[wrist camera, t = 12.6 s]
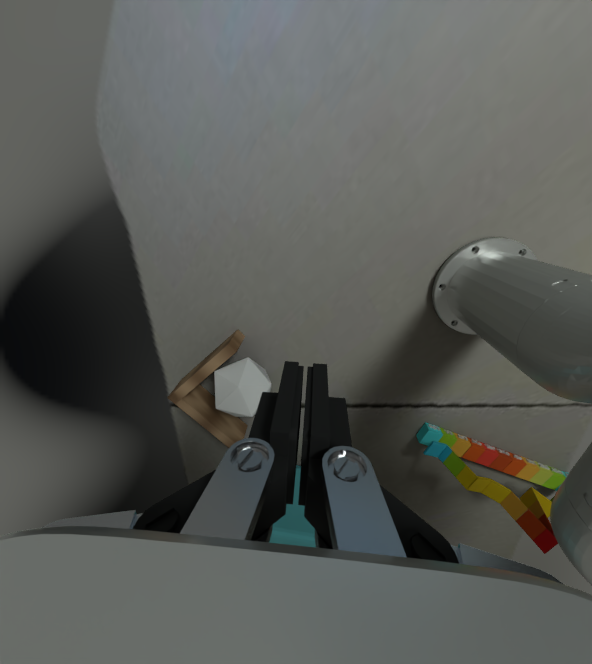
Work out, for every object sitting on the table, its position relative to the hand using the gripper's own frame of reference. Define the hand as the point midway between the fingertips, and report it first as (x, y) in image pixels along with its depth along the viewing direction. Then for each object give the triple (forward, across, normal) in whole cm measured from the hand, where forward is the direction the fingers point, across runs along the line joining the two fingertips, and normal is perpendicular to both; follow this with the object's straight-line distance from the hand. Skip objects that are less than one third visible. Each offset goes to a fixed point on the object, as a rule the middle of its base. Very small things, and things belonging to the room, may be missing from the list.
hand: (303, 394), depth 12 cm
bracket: (+29, +15, +20) cm, 38 cm away
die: (+29, +9, +18) cm, 36 cm away
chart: (+30, -34, +31) cm, 54 cm away
